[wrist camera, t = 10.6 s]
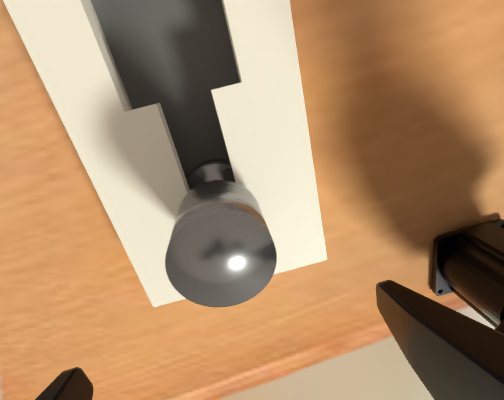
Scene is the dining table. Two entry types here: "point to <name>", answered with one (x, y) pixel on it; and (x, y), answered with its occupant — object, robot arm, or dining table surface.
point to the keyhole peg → (219, 240)
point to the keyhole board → (180, 113)
